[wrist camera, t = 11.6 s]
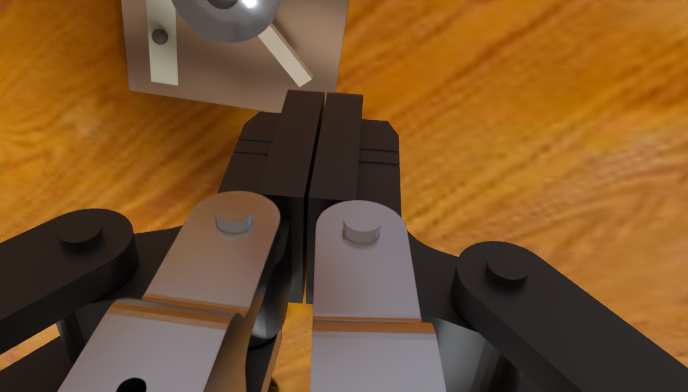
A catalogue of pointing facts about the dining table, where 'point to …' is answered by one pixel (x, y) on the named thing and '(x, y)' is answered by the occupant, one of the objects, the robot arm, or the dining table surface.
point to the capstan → (243, 27)
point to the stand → (231, 55)
